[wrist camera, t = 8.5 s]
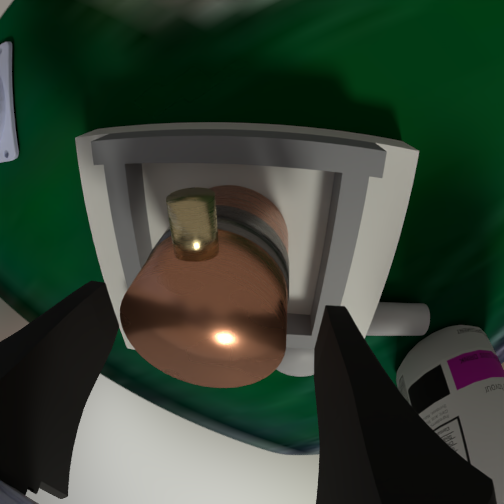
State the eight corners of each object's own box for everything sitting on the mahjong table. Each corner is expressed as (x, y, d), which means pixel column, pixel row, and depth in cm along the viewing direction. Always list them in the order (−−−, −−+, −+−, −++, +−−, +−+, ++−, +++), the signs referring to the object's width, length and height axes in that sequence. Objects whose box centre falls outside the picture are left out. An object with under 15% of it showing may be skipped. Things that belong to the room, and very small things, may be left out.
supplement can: (477, 300, 16) (554, 492, 4) (485, 355, 19) (531, 500, 7) (380, 353, 20) (408, 556, 7) (408, 395, 23) (430, 544, 10)
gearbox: (137, 328, 21) (119, 364, 18) (97, 128, 13) (55, 145, 10) (397, 349, 19) (408, 388, 16) (467, 156, 12) (506, 180, 9)
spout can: (184, 280, 15) (142, 376, 10) (166, 151, 12) (83, 213, 7) (286, 286, 15) (282, 393, 10) (293, 150, 11) (298, 216, 6)
